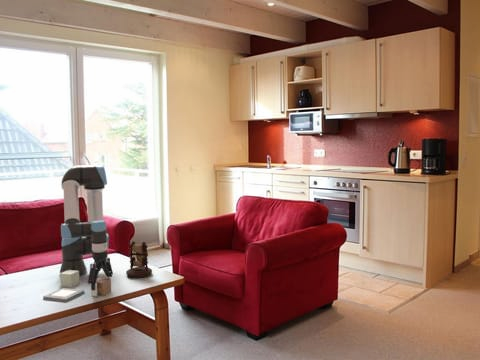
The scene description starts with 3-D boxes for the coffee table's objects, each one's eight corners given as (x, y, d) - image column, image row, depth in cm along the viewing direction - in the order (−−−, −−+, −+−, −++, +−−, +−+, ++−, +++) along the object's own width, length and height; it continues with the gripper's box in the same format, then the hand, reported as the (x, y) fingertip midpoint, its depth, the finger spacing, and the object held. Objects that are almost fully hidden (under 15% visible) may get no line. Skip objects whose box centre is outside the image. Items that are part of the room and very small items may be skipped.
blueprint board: (43, 299, 234) (43, 296, 234) (62, 290, 248) (62, 287, 248) (66, 301, 230) (66, 299, 230) (84, 292, 243) (84, 290, 243)
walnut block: (91, 295, 240) (91, 281, 239) (99, 290, 247) (99, 277, 246) (103, 296, 238) (102, 282, 237) (111, 292, 244) (110, 279, 244)
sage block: (60, 285, 256) (59, 273, 255) (69, 282, 263) (68, 269, 262) (71, 287, 254) (70, 274, 253) (79, 283, 260) (78, 270, 260)
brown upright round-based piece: (156, 272, 279) (155, 239, 277) (145, 279, 265) (144, 245, 263) (133, 270, 283) (132, 238, 281) (121, 278, 268) (120, 243, 266)
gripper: (91, 256, 228) (93, 300, 230) (118, 246, 250) (120, 286, 252) (79, 255, 230) (81, 299, 232) (106, 245, 252) (108, 285, 254)
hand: (101, 292), depth 242 cm, fingers open, 11 cm apart
